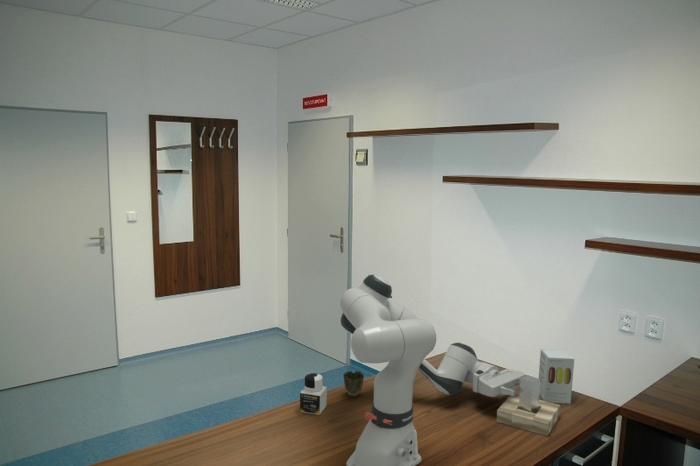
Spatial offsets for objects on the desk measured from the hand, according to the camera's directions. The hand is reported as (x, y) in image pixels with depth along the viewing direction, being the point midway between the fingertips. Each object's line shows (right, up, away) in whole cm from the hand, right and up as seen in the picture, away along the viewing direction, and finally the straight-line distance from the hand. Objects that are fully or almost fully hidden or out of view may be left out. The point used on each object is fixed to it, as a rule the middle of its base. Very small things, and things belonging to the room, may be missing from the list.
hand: (522, 389), depth 175 cm
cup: (-56, -7, +15) cm, 59 cm away
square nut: (+1, -9, -1) cm, 9 cm away
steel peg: (+1, -9, -1) cm, 10 cm away
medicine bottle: (-70, -8, +4) cm, 71 cm away
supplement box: (+16, -8, +15) cm, 24 cm away
